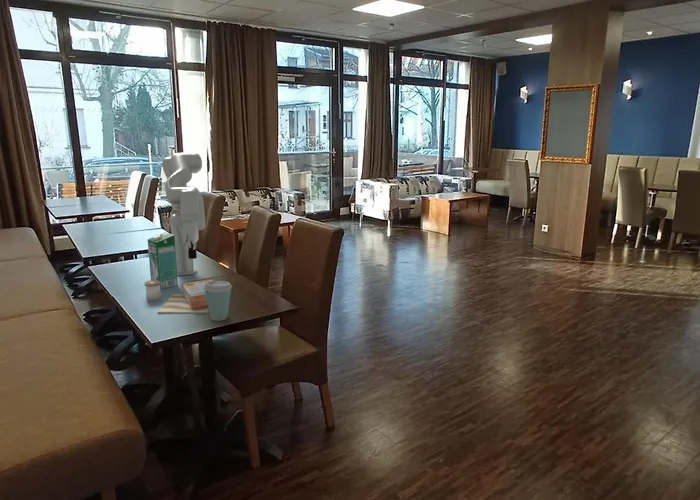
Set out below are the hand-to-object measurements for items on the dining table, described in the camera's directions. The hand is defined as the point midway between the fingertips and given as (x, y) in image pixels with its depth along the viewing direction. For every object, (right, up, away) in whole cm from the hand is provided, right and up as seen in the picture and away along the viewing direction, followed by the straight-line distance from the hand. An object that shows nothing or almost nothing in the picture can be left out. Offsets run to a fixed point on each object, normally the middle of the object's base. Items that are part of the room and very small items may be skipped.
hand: (192, 258), depth 219 cm
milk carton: (-19, -14, +18) cm, 30 cm away
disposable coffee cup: (+18, -24, -22) cm, 37 cm away
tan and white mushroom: (-17, -18, -1) cm, 25 cm away
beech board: (+1, -20, -6) cm, 20 cm away
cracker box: (0, -13, +6) cm, 14 cm away
